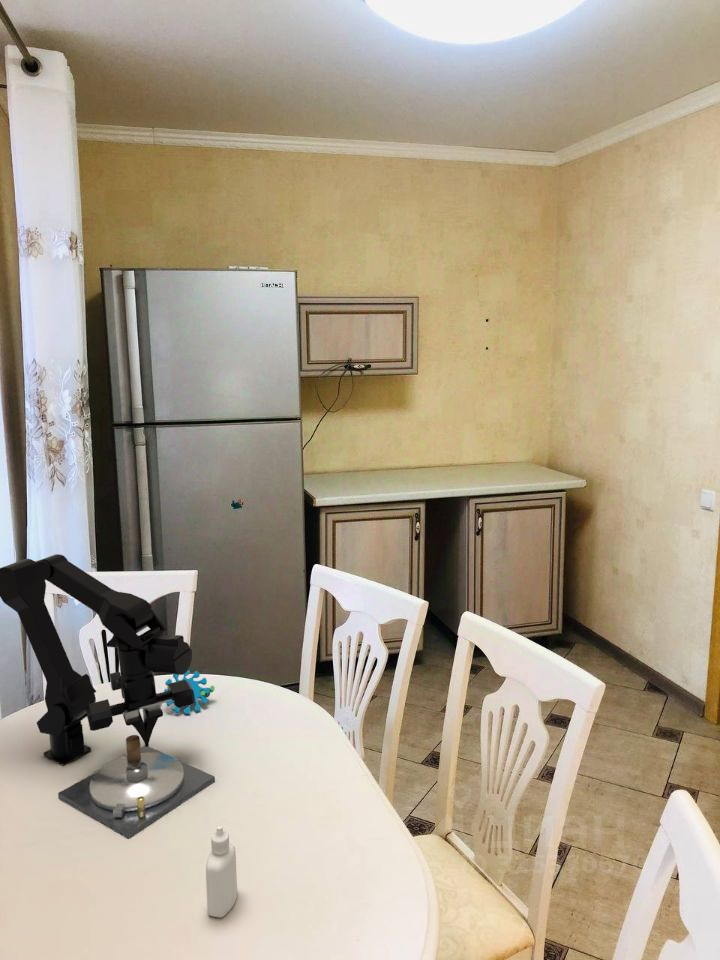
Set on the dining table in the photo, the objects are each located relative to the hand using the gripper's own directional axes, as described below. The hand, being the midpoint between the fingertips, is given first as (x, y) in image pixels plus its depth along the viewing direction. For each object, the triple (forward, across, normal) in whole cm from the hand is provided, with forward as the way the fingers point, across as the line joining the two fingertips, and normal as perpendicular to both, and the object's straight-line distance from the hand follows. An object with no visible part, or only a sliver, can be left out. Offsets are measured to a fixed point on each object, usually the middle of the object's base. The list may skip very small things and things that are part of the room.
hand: (146, 745), depth 135 cm
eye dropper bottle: (+5, -3, +40) cm, 40 cm away
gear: (+5, -12, -20) cm, 24 cm away
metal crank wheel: (+3, +3, +7) cm, 8 cm away
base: (+4, +3, +6) cm, 8 cm away
